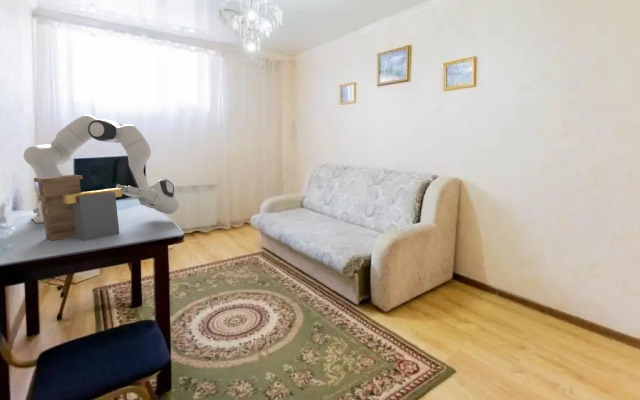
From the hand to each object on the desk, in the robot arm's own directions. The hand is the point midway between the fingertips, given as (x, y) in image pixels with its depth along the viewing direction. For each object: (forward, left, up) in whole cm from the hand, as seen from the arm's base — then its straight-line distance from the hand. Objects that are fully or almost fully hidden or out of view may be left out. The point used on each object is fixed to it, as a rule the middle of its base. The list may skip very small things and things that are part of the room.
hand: (122, 186), depth 161 cm
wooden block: (0, -12, -4) cm, 13 cm away
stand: (-11, -21, -20) cm, 31 cm away
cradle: (0, -13, -20) cm, 24 cm away
